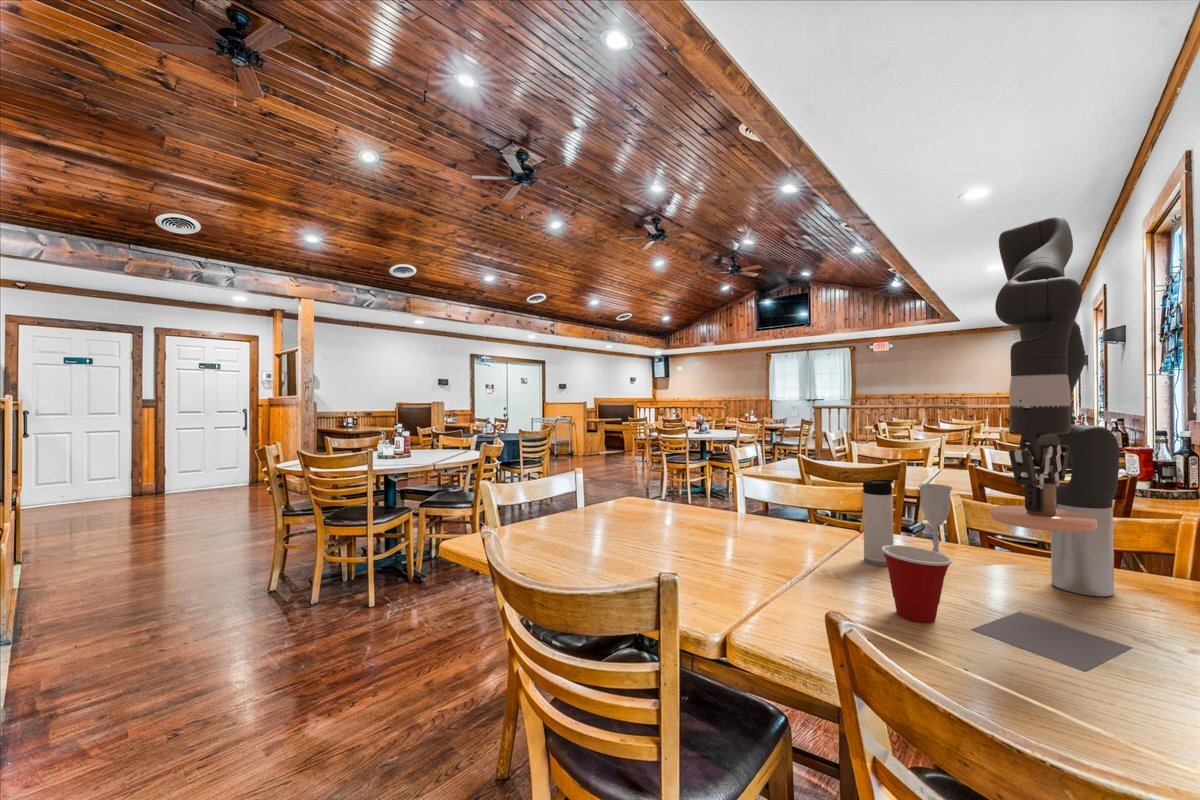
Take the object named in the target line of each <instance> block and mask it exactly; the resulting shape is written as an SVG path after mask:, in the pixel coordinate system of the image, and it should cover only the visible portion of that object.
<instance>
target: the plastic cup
mask: <svg viewBox="0 0 1200 800" xmlns="http://www.w3.org/2000/svg"><path fill="white" fill-rule="evenodd" d="M931 550H932V549H931ZM931 550H930V549H927V548H922V547H917V546H916V547H915V546H909V545H900V544H893V545H886V546H883V547H882V551H883V552H884V554H885V558H886V561H887V566H886V568H887V569H888V575H889V580H890V587H891V592H892V598H893V599H894V600H893V601H894V605H895V611H896V613H897V616H899V617H900V618H901V619H904V620H906V621H910V622H912V623H913V622H914V623H918V624H929V623H933V622H935V621H936V619H937V613H938V608H939V605H940V601H941V596H942V590H943V586H944V580H945V577H946V575H947V571H948V568H949V566H950V565H951V564H952V563H953V559H952V558H951V557H950V556H948V555H946V554H945V553H944V554H945V555H944V554H941V553H938V552H935V551H931Z"/></svg>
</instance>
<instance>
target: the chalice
mask: <svg viewBox="0 0 1200 800" xmlns="http://www.w3.org/2000/svg"><path fill="white" fill-rule="evenodd" d="M917 487H918V488H919V493H920V494H919V495H920V500H919V501H920V507H921V510H922V512H923V515H924V517H925V518H926V520H927V523H928V524H929V525H932V527H933V529H932V532H931V534H932V536H933V539H932V540H931V542H932V544H933V548H932V549H931V551H935V552H938V553H941V554H944V555H946V554H945V553H944V552H943V551H941V550H940V549H939V544H940V543H941V541H940V540H939V536H940V533H939V526H942V525H943V524H944V522H945V520H946V519H947V517H948V515H949V512H950V510H951V491H952V490H953V487H952V486H950V485H945V484H939V483H919V484H917Z"/></svg>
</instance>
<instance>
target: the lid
mask: <svg viewBox="0 0 1200 800" xmlns="http://www.w3.org/2000/svg"><path fill="white" fill-rule="evenodd" d="M1042 489H1043V495H1044V510H1043V511H1042V512H1033V511H1028V510H1026V509H1025V505H999V506H993V507H991V508H990V518H991V519H992V520H994V521H997V522H998V523H1003V524H1006V525H1011V526H1015V527H1019V528H1025V529H1031V530H1038V531H1048V532H1049V531H1050V532H1051V531H1059V532H1088V531H1094V530H1096V529H1097V519H1096V518H1094V517H1092V516H1089V515H1086V514H1082V513H1078V512H1073V511H1067V510H1061V509H1056V487H1055V484H1053V483H1048V482H1044V483H1043V488H1042Z"/></svg>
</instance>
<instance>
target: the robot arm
mask: <svg viewBox="0 0 1200 800" xmlns="http://www.w3.org/2000/svg"><path fill="white" fill-rule="evenodd" d="M1071 230H1072V229H1071V227H1070V225H1069V223H1068V221H1067V219H1065V218H1064V217H1062V216H1059V215H1055V216H1054V215H1053V216H1048V217H1044V218H1041V219H1038V220H1035V221H1031V222H1028V223H1026V224H1022V225H1018V226H1015V227H1012V228H1009V229H1006V230H1003V231H1002V232H1001V233H1000V235H999V238H998V248H999V249H998V250H999V254H1000V258H1001V263H1002V266H1003V269H1004V273H1005V276H1006V279H1007V282H1006V283H1005V284H1004V285H1003V286H1002V287H1001V289H1000V291H998V294H997V296H996V300H995V304H994V307H995V308H994V309H995V314H996V316H997V318H998V319H999V320H1000V321H1001V322H1002V323H1003V324H1006V325H1009V326H1016V327H1017V326H1018V329H1019V337H1020V340H1018V341H1016V342H1014V343H1013V344H1012V345H1011V346H1010V347H1011V348H1010V353H1009V354H1010V355H1009V356H1010V383H1009V392H1008V396H1009V397H1008V399H1009V401H1008V402H1009V406H1008V407H1009V430H1010V432H1012V433H1015V434H1020V435H1021V436H1020V441H1019V448H1018V449H1009V451H1008V455H1009V459H1010V463H1011V469H1012V473H1013V477H1014V481H1015V484H1016V485H1021V487H1022V488H1024V506H1025V509H1026V510H1028V511H1033V512H1042V511H1043V510H1044V495H1043V489H1042V488H1043V483H1044V482H1048V483H1053V484H1055V487H1056V509H1061V510H1067V511H1073V512H1078V513H1082V514H1086V515H1089V516H1092V517H1094V518H1096V519H1097V529H1096V530H1094V531H1088V532H1059V531H1050V555H1051V556H1050V558H1051V564H1050V565H1051V568H1050V569H1051V584H1052V585H1053V586H1054V587H1056V588H1058V589H1061V590H1063V591H1067V592H1070V593H1073V594H1077V595H1083V596H1084V595H1085V596H1092V597H1112V596H1114V595H1115V569H1114V568H1115V563H1114V562H1115V559H1114V558H1115V557H1114V521H1113V520H1114V518H1113V517H1114V514H1113V510H1114V508H1113V507H1114V506H1113V500H1114V498H1115V496H1116V494H1117V490H1118V487H1119V486H1118V484H1119V469H1120V468H1119V467H1120V466H1119V465H1120V446H1119V442H1118V439H1117V437H1116V436H1115V434H1114V432H1112V431H1111V430H1110V429H1108V428H1106V427H1104V426H1100V425H1093V424H1092V425H1090V424H1076V422H1075V419H1074V415H1073V409H1072V395H1073V392H1074V389H1075V387H1076V385H1077V383H1078V381H1079V379H1080V377H1081V374H1082V372H1083V369H1084V367H1085V363H1086V350H1085V345H1084V341H1083V337H1082V332H1081V327H1080V325H1079V323H1077V321H1076V318H1077V315H1078V312H1079V310H1080V307H1081V304H1082V301H1083V300H1082V299H1083V288H1082V287H1081V285H1080V283H1079V282H1078V281H1077V280H1076V279H1074V278H1072V277H1069V276H1065V275H1066V274H1065V268H1066V267H1067V265H1068V263H1069V261H1070V259H1071V257H1072V255H1073V251H1074V240H1073V235H1072V231H1071ZM1068 469H1069V470H1071V474H1070V479H1069V481H1068V482H1067V483H1065V484H1061V485H1060V483H1061V482H1064V481H1065V478H1066V474H1067V470H1068ZM1060 481H1061V482H1060Z"/></svg>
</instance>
